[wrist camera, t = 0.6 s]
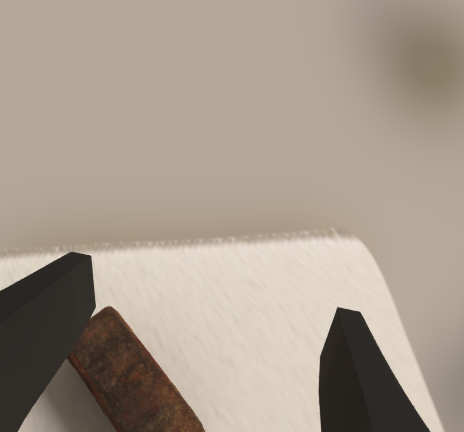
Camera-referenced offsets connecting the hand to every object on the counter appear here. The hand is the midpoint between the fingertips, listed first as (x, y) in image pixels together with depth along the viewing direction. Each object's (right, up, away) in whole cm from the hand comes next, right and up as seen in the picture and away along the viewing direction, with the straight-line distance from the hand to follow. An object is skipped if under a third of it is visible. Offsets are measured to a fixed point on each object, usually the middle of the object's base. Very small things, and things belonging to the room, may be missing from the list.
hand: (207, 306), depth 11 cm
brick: (-6, -10, +15) cm, 19 cm away
